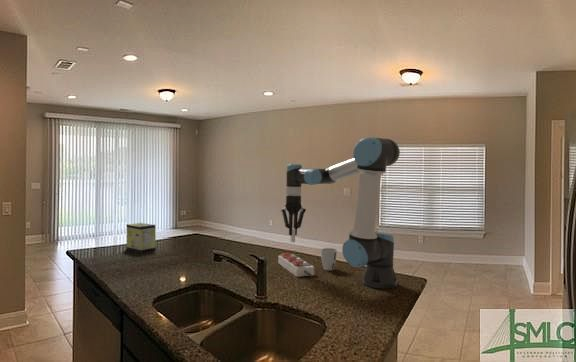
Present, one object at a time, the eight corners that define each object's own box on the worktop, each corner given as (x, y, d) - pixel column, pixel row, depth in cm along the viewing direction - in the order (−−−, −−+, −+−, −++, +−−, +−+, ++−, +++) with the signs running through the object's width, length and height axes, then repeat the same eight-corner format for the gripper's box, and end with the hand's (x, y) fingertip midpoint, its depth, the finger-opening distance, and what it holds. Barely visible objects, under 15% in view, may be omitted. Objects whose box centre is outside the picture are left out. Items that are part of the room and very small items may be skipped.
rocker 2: (296, 259, 201) (296, 256, 201) (290, 260, 200) (289, 257, 200) (293, 259, 206) (293, 256, 206) (286, 260, 204) (286, 257, 205)
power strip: (319, 278, 186) (319, 269, 186) (301, 280, 183) (301, 270, 183) (293, 261, 218) (294, 253, 218) (278, 262, 215) (278, 255, 215)
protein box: (141, 246, 254) (140, 222, 254) (156, 249, 245) (156, 224, 245) (126, 249, 246) (126, 224, 245) (141, 252, 237) (141, 226, 236)
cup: (335, 271, 198) (336, 251, 198) (319, 270, 200) (319, 251, 200) (337, 267, 206) (337, 248, 206) (321, 266, 208) (321, 247, 208)
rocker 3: (303, 263, 192) (303, 260, 192) (296, 264, 191) (296, 261, 191) (299, 263, 197) (299, 260, 197) (292, 264, 196) (292, 261, 196)
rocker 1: (290, 255, 209) (290, 253, 209) (284, 256, 208) (284, 253, 208) (287, 255, 214) (287, 253, 214) (281, 256, 213) (280, 253, 213)
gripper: (303, 194, 205) (302, 239, 206) (278, 194, 201) (278, 240, 202) (308, 195, 198) (307, 242, 199) (283, 195, 194) (282, 243, 195)
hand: (292, 241), depth 201 cm, fingers closed
